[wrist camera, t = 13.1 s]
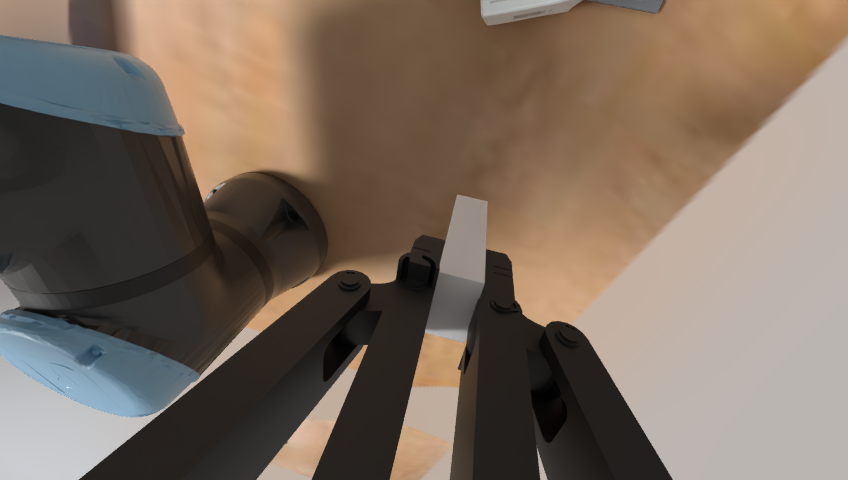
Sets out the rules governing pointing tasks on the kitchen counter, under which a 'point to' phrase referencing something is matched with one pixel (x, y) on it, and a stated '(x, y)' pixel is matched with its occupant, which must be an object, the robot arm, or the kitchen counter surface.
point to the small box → (521, 9)
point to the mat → (635, 4)
